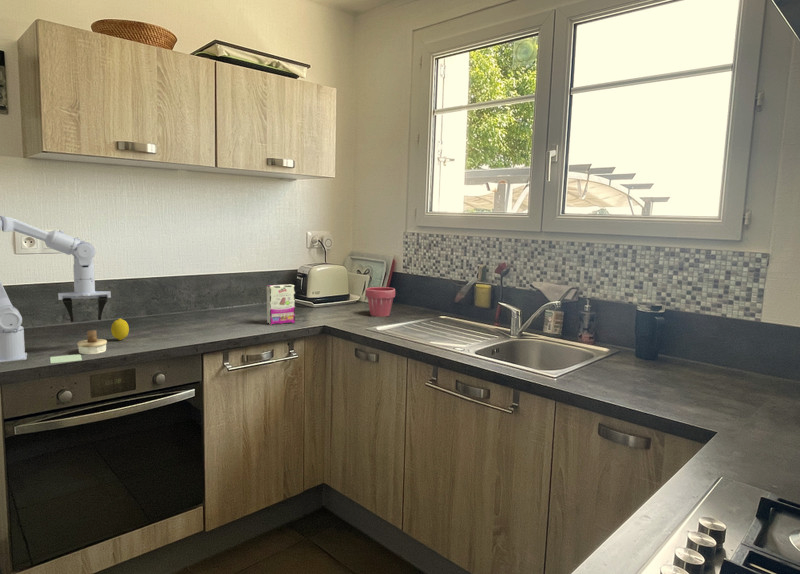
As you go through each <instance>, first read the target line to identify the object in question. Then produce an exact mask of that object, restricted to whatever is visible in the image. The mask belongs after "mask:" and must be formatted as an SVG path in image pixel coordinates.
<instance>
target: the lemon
mask: <svg viewBox="0 0 800 574" xmlns="http://www.w3.org/2000/svg"><path fill="white" fill-rule="evenodd" d="M110 331H111V335H112V337H113V338H115V339H116V340H118V341H122V340H123V339H125V338H127V336H128V335H129V333H130V332H129V331H130V328H129V324H128V322H127V321H126V320H125V319H122V318H118V319H116V320H114V321H113V322H112V324H111V329H110Z"/></svg>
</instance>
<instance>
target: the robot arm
mask: <svg viewBox="0 0 800 574" xmlns="http://www.w3.org/2000/svg"><path fill="white" fill-rule="evenodd" d="M0 230H1V231H2V232H3V233H4V232H5V233H6V232H15V233H16V232H17V233H19V234H23V235H26V236H28V237H31V238H33V239H35V240H36V239H37V240H39V241H42V242H44V244H45V246H46V247H47V248H49V249H52V250H54V251H57V252H59V253H63V254H65V255H68V256H70V255H72V256H73V287H74V288H73V289H74V291H70V292H58V293H57V296H58V297H57V298H58V301H59V300H60V301H62V303H63V305H64V307H65V309H66V310H67V313H68V315H69V319H70V323H73V322H74V315H73V300H75V299H77V300H78V299H79V300H80V299H97V310H98V311H97V320H98V321H102V314H103V311H104V308H105V306H106V303H107V302H108V299H109V298H110V299H111V298H112V294H111V293H112V292H111V290H109V291H108V290H107V291H106V290H104V291H100V290H96V284H95V283H96V282H95V280H96V279H95V264H94V257H95V255H96V253H97V252H96V250H95V247H94V245H93V244H91V243H90V242H87V241H85V240H82V238H80V237H78V236H77V237H74V236H71V235H69V234H66V233H65V231H64V230H60V229H59V230H56V229H55V230H52V231H46V230H43V229H41V228H39V227H37V226H34V225H31V224H29V223H27V222H24V221H22V220H19V219H16V218H14V217H11V216H10V217H9V216H6V215H5V216H4V215H1V214H0ZM10 300H11V299H10V298H9V296H8V294H7V292H6V290H5V288H4V285H3V283H2V281H1V280H0V363H3V362H14V361H23V360H24V361H26V360H27V358H28V357H27V356H28V352H25V351H26V348H25V330H24V326H22V324H23V317H22V315H21V313H20V311H19V309H18V308H16V307H15V306H14V305H13V304H12V302H11V301H10Z"/></svg>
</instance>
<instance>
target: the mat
mask: <svg viewBox="0 0 800 574" xmlns="http://www.w3.org/2000/svg"><path fill="white" fill-rule="evenodd" d="M49 360H50V361H49V362H50V364H56V363H57V364H58V363H60V364H61V363H68V362H77V361H83V359H82V354H80V353H77V354H70V355H68V354H67V355H57V356H50V359H49Z"/></svg>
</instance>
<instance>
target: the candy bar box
mask: <svg viewBox="0 0 800 574" xmlns="http://www.w3.org/2000/svg"><path fill="white" fill-rule="evenodd" d="M266 323H267V324H268V323H269V324H268V325H270V326H273V325H272V324H276V325H284V324H283V323H287V324H295V323H296V285H294V284H293V283H292V284H274V285H272V284H271V285H266Z"/></svg>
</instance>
